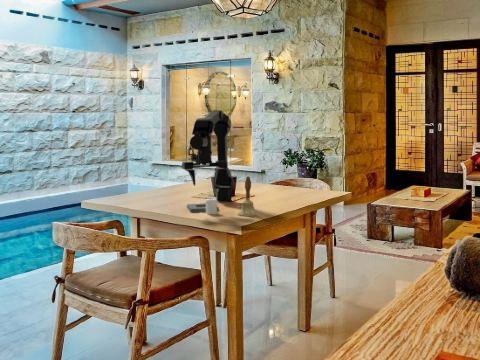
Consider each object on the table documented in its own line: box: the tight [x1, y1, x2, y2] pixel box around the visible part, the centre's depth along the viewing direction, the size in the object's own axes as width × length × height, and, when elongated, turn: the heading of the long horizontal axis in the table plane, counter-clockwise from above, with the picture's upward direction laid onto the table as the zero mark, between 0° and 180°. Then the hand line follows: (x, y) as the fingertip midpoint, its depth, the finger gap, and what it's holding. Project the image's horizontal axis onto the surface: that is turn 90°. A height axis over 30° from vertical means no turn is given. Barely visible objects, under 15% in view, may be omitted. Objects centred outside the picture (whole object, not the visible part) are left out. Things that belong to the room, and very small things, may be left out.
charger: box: [205, 198, 218, 215], centre depth 219 cm, size 4×4×6 cm
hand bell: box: [237, 176, 258, 217], centre depth 215 cm, size 8×8×16 cm
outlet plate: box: [186, 202, 220, 213], centre depth 229 cm, size 12×12×2 cm
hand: (204, 185), depth 220 cm, fingers open, 9 cm apart
